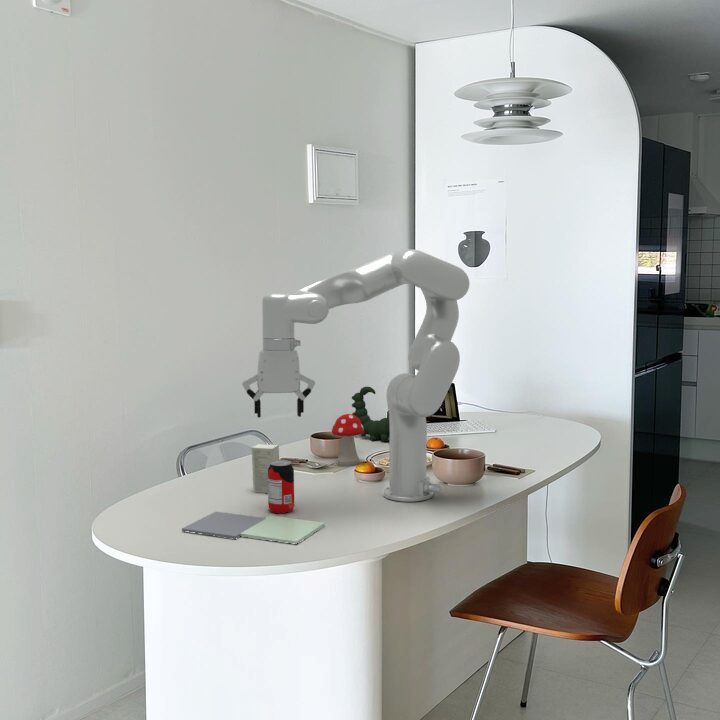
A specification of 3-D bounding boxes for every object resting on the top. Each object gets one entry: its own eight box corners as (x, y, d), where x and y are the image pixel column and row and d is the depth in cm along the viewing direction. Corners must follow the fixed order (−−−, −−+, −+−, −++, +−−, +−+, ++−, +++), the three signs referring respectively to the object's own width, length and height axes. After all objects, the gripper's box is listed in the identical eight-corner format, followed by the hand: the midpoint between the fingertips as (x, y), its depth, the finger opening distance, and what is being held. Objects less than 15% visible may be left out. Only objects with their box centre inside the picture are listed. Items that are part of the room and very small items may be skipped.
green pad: (324, 526, 201) (324, 522, 201) (296, 545, 188) (296, 541, 188) (271, 519, 206) (271, 515, 206) (240, 536, 193) (240, 533, 193)
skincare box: (280, 489, 232) (280, 444, 230) (273, 494, 227) (273, 448, 226) (259, 487, 234) (258, 443, 232) (251, 492, 229) (251, 446, 228)
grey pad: (266, 521, 204) (266, 518, 204) (235, 539, 192) (235, 536, 192) (215, 514, 210) (215, 511, 210) (182, 531, 197) (181, 528, 197)
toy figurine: (350, 444, 293) (416, 446, 280) (345, 388, 291) (412, 387, 278) (364, 439, 301) (429, 440, 288) (359, 384, 299) (425, 383, 286)
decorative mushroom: (341, 469, 253) (341, 418, 251) (326, 463, 260) (325, 413, 258) (370, 464, 258) (369, 414, 256) (354, 458, 266) (354, 410, 264)
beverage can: (299, 511, 212) (298, 463, 211) (276, 516, 209) (275, 466, 207) (286, 505, 217) (285, 458, 216) (263, 509, 214) (262, 461, 212)
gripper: (313, 343, 213) (313, 412, 215) (241, 344, 210) (242, 414, 213) (316, 346, 205) (316, 418, 207) (242, 347, 203) (242, 419, 205)
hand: (279, 416), depth 210 cm, fingers open, 9 cm apart
